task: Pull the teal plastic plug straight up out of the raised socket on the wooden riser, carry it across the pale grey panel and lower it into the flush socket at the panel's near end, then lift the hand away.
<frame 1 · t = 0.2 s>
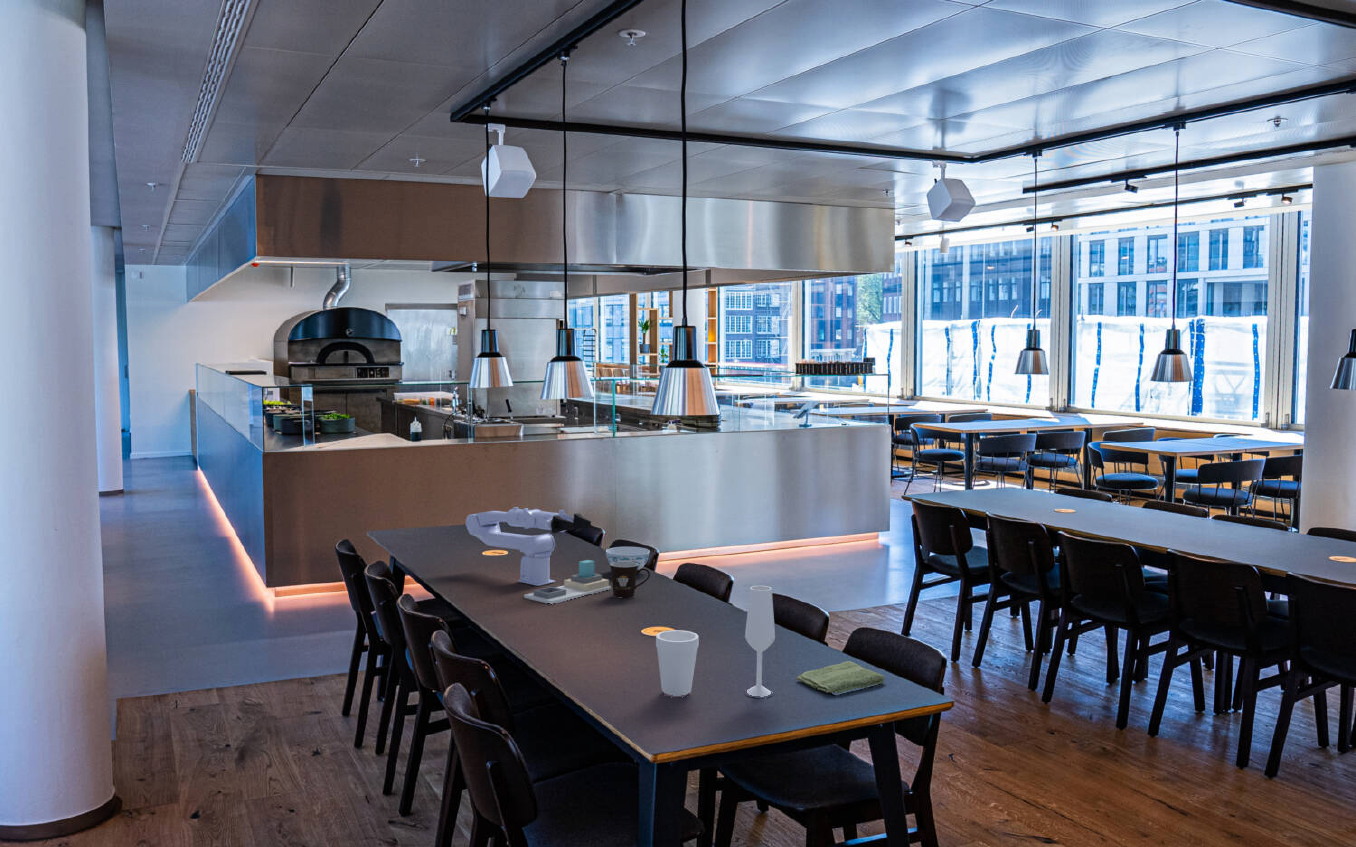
hand: (581, 525, 320), 21 cm above the table, tool horizontal, fingers open, 7 cm apart
plug: (586, 580, 326), point 3 cm above the table, touching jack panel
foam cup: (676, 693, 229), on the table
coffee mug: (628, 597, 317), on the table
champagne flute: (758, 694, 229), on the table
washcloth: (841, 685, 238), on the table
chinaware: (627, 573, 351), on the table
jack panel: (568, 593, 320), on the table
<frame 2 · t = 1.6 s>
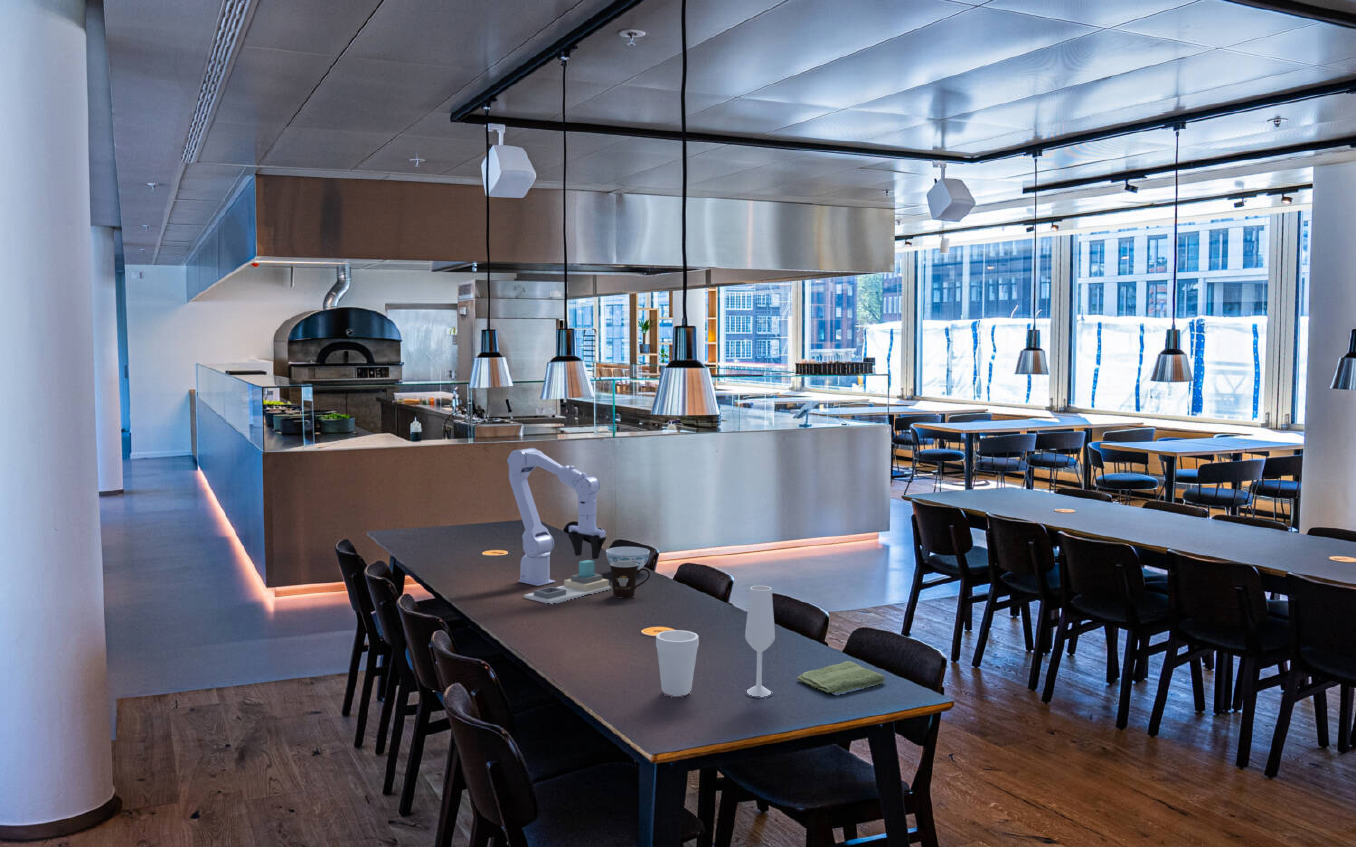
hand: (586, 557, 325), 10 cm above the table, tool pointing down, fingers open, 7 cm apart
nothing on the table moved.
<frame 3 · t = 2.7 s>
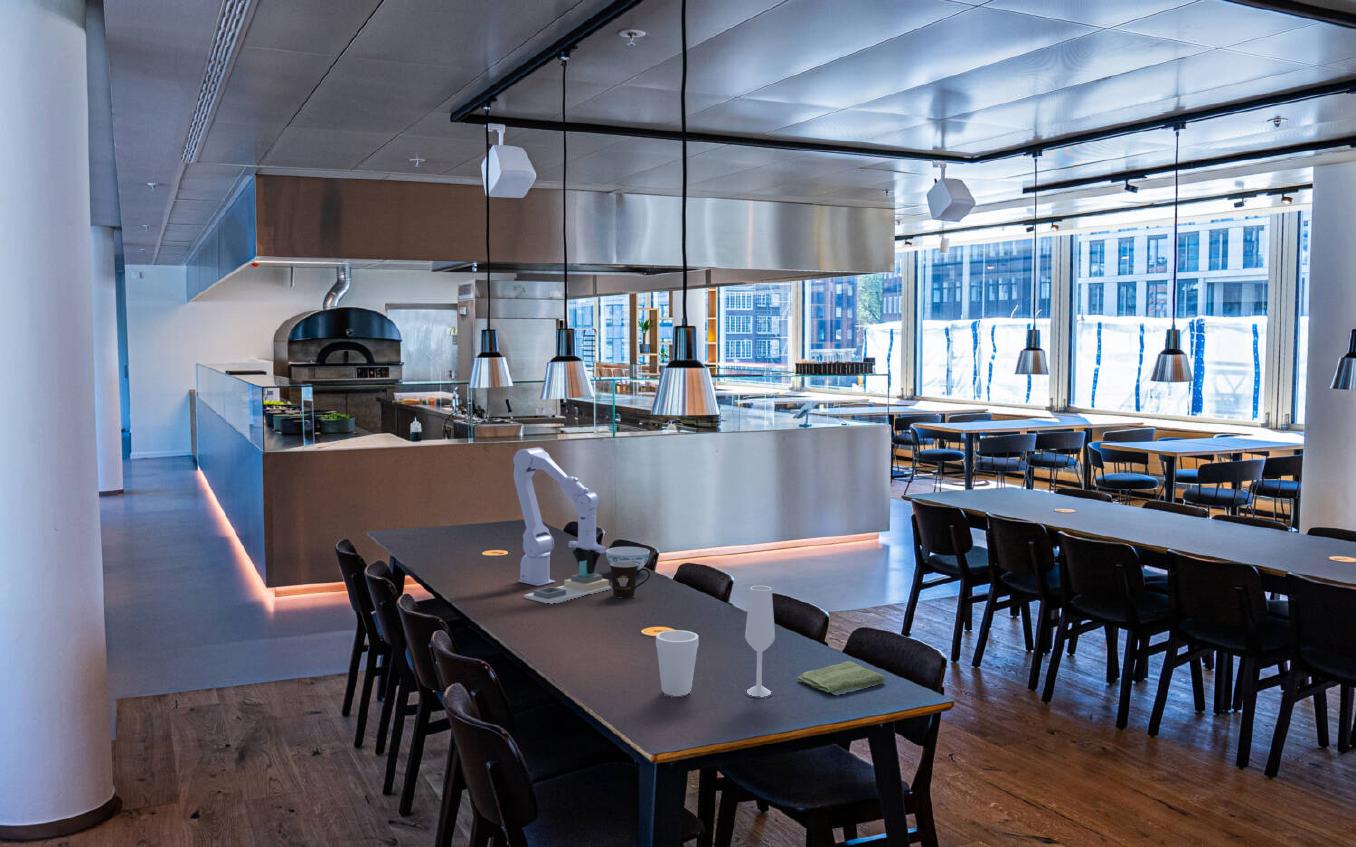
hand: (586, 572, 325), 5 cm above the table, tool pointing down, fingers closed on plug, 3 cm apart
plug: (586, 580, 326), point 3 cm above the table, touching gripper, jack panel
everything else where it was.
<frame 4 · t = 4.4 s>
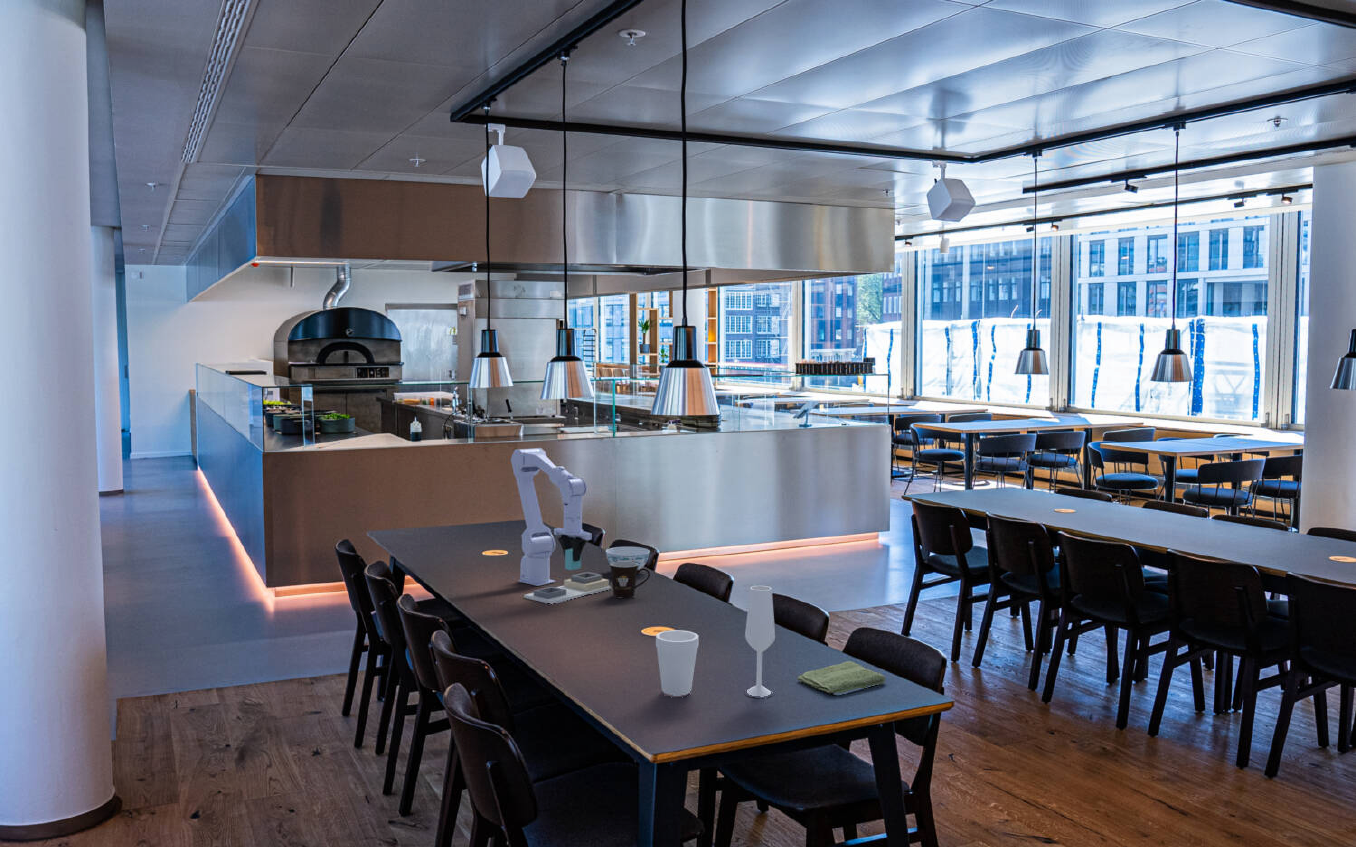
hand: (572, 560, 320), 10 cm above the table, tool pointing down, fingers closed on plug, 3 cm apart
plug: (573, 568, 320), point 8 cm above the table, touching gripper
everything else where it was.
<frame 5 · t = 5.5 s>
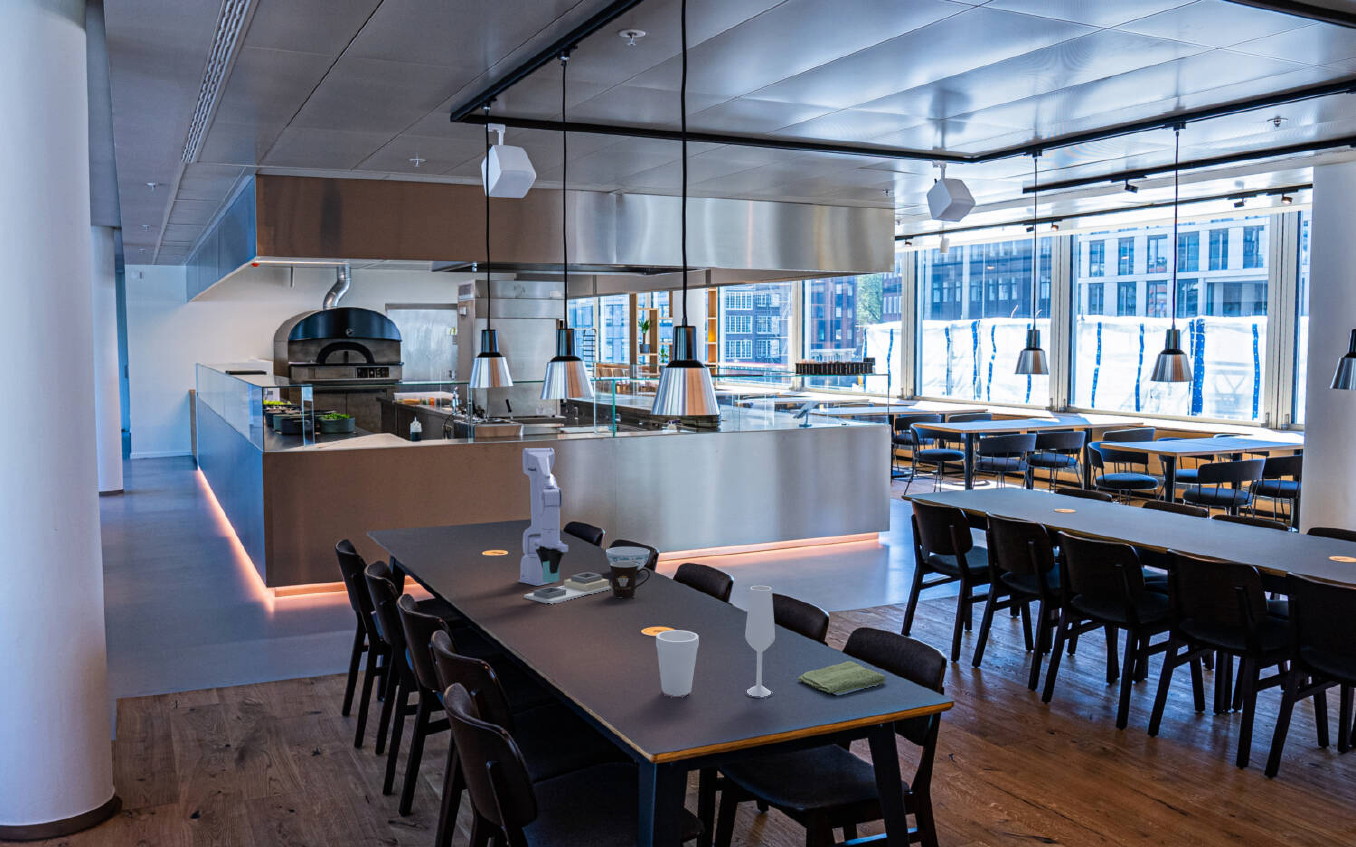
hand: (550, 572, 313), 8 cm above the table, tool pointing down, fingers closed on plug, 3 cm apart
plug: (550, 581, 313), point 5 cm above the table, touching gripper
everything else where it was.
when the fingers open (4 cm above the table, at t = 6.4 s): plug stays where it is, resting on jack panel.
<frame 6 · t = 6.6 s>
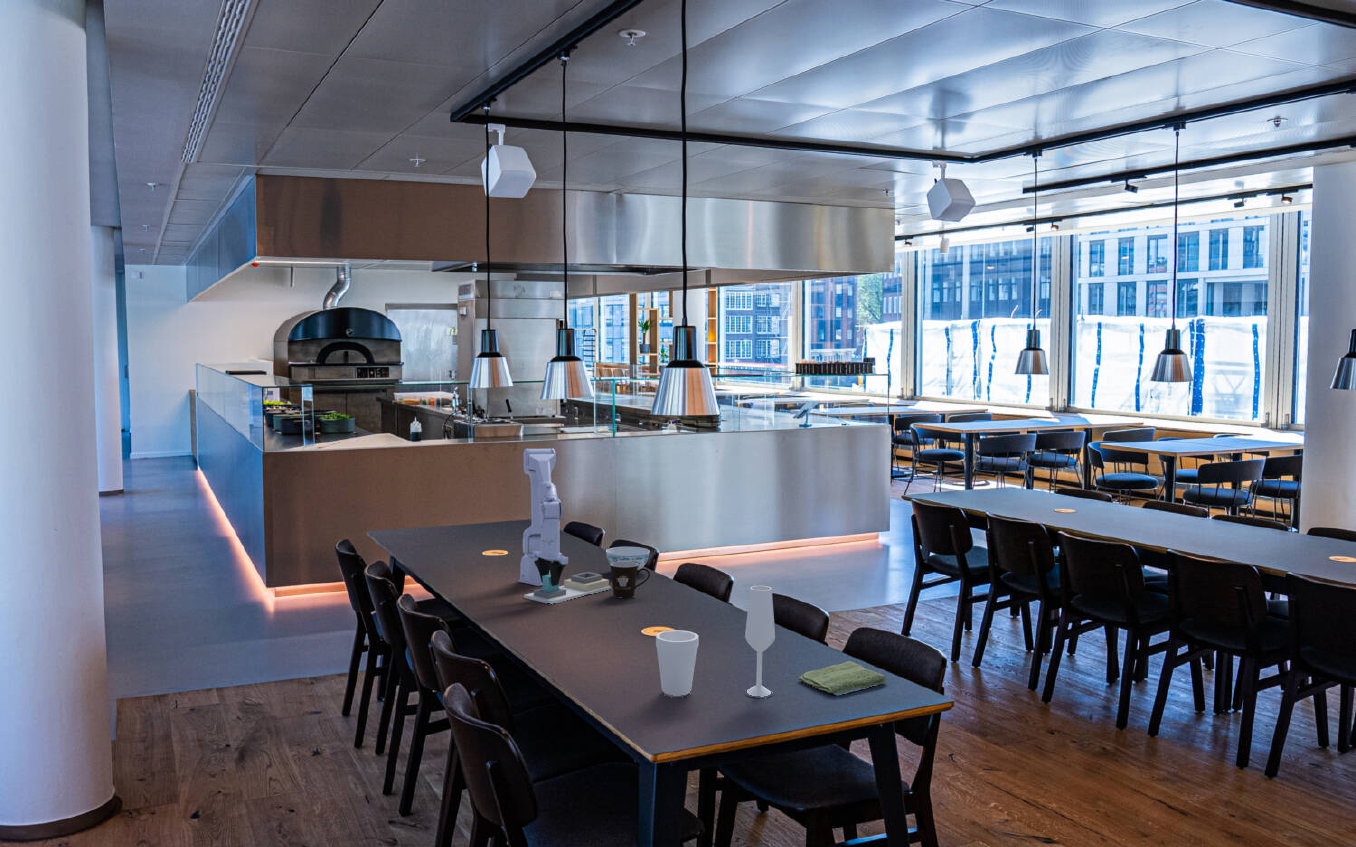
hand: (549, 584, 313), 4 cm above the table, tool pointing down, fingers open, 4 cm apart
plug: (550, 594, 314), point 1 cm above the table, touching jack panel
everything else where it was.
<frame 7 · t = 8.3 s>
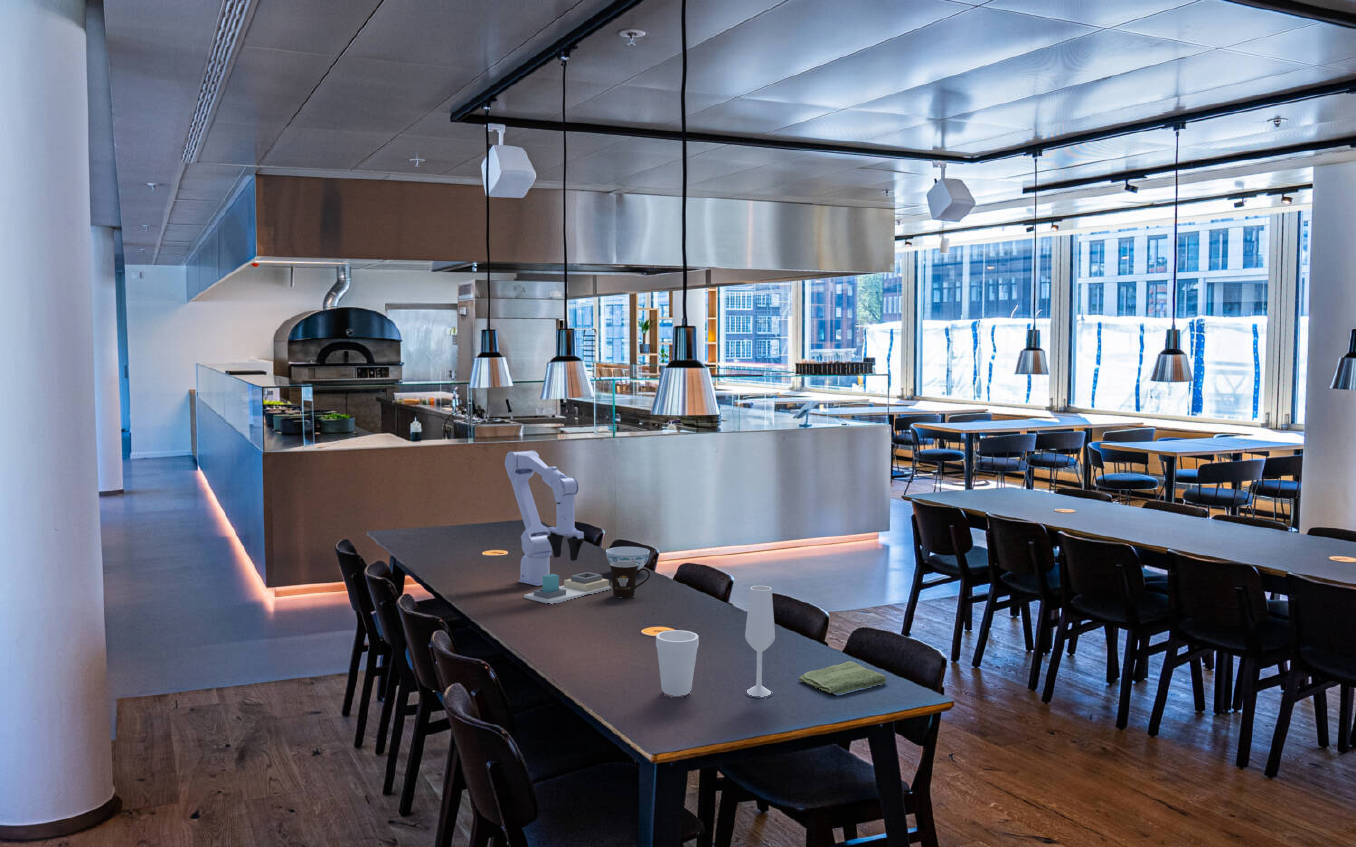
hand: (565, 558, 322), 10 cm above the table, tool pointing down, fingers open, 7 cm apart
nothing on the table moved.
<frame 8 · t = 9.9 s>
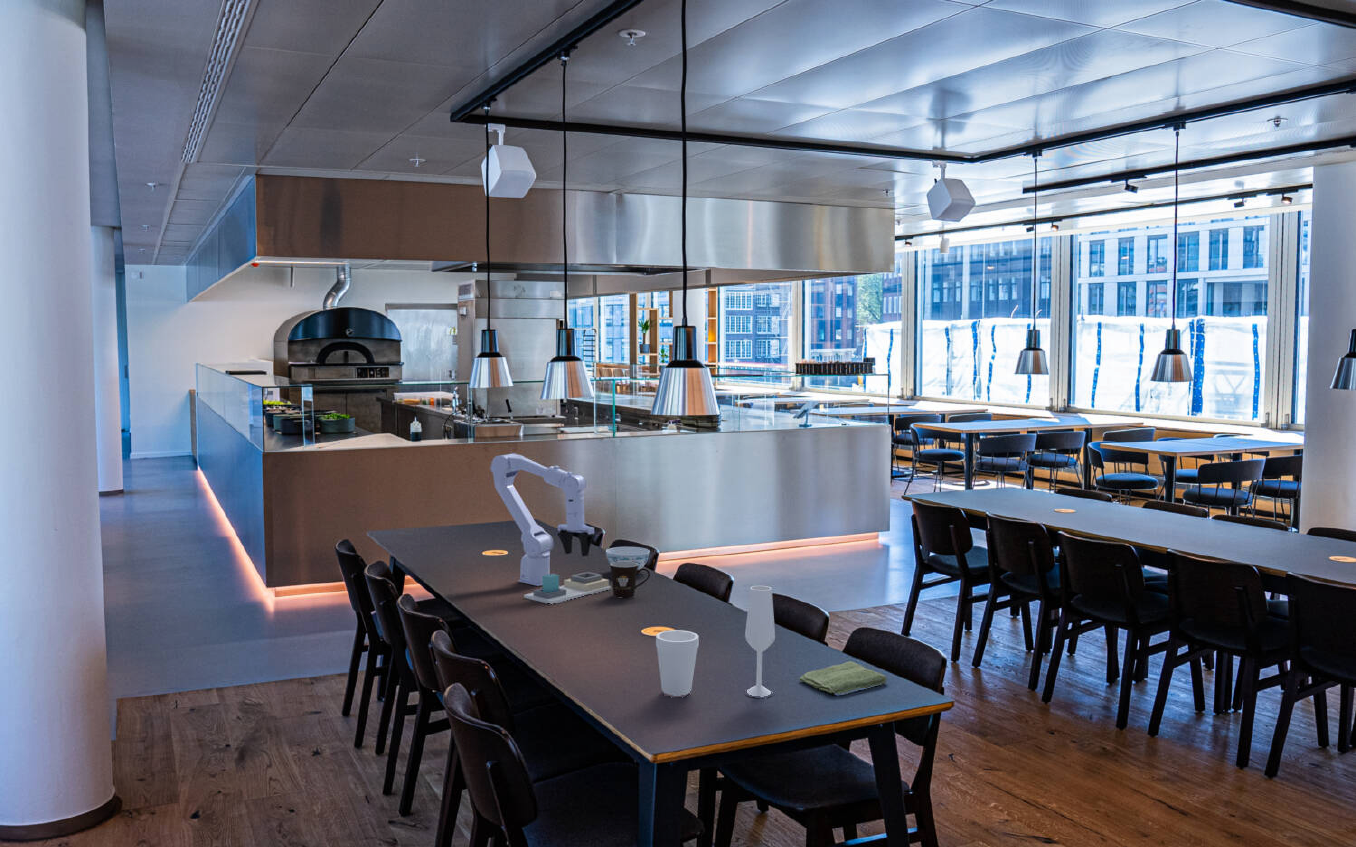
hand: (576, 554, 328), 10 cm above the table, tool pointing down, fingers open, 7 cm apart
nothing on the table moved.
at the end: plug 0.3 cm from the target spot on the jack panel, point 1.0 cm above the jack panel's base; plug tilted 0°; the gripper is holding nothing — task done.
